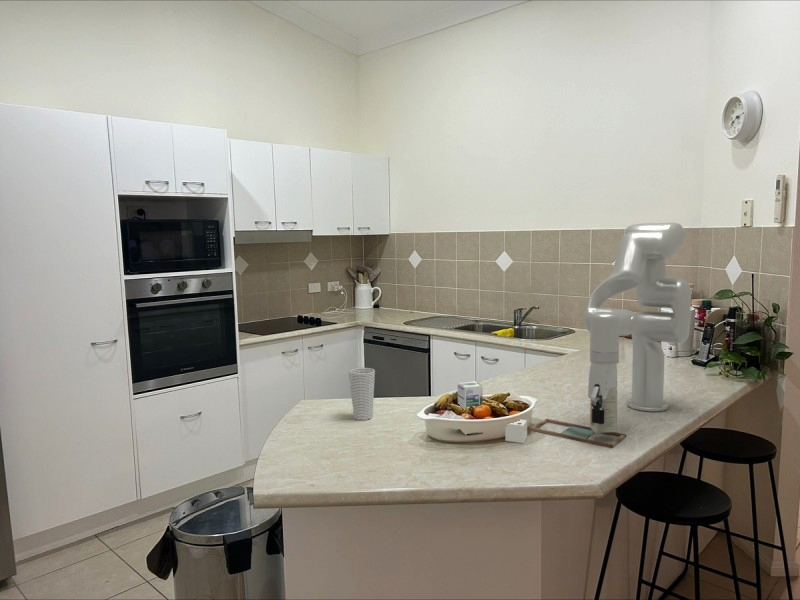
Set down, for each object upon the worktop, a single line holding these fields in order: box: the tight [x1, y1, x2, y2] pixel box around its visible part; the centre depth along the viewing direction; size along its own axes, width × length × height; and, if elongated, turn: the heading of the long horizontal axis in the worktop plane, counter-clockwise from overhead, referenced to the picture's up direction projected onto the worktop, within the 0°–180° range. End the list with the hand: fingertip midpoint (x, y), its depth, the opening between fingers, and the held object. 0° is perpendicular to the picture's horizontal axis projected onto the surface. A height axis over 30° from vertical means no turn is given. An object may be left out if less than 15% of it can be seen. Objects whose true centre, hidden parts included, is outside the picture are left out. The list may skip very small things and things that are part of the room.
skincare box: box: [589, 388, 618, 434], centre depth 161 cm, size 6×4×12 cm
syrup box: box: [456, 380, 484, 409], centre depth 170 cm, size 6×6×14 cm
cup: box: [348, 367, 376, 421], centre depth 186 cm, size 8×8×16 cm
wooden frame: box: [530, 418, 627, 449], centre depth 167 cm, size 11×24×1 cm, turn 50°
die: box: [504, 419, 528, 444], centre depth 163 cm, size 5×5×5 cm
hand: (603, 419), depth 161 cm, fingers closed on skincare box, 7 cm apart
